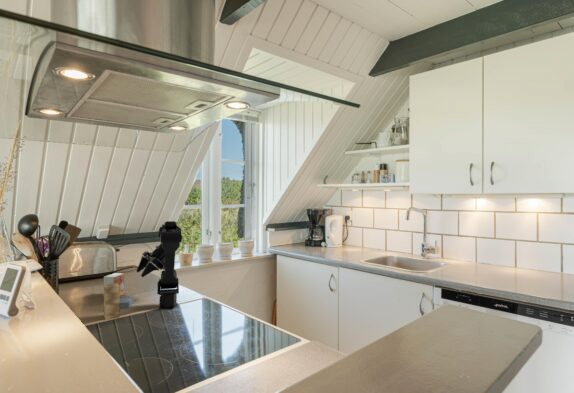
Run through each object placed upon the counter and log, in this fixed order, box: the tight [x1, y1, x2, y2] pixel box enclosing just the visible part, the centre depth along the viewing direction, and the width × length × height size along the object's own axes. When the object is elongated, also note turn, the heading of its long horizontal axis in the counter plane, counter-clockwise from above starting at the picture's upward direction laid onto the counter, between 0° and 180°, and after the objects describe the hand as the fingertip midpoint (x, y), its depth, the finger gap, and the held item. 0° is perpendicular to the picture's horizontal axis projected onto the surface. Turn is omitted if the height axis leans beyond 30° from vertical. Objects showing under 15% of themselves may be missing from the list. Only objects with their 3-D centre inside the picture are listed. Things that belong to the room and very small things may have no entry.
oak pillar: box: [103, 283, 120, 320], centre depth 144 cm, size 5×5×13 cm
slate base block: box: [119, 296, 135, 310], centre depth 157 cm, size 8×8×3 cm
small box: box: [103, 272, 125, 297], centre depth 170 cm, size 8×6×10 cm
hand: (139, 274), depth 160 cm, fingers open, 9 cm apart
